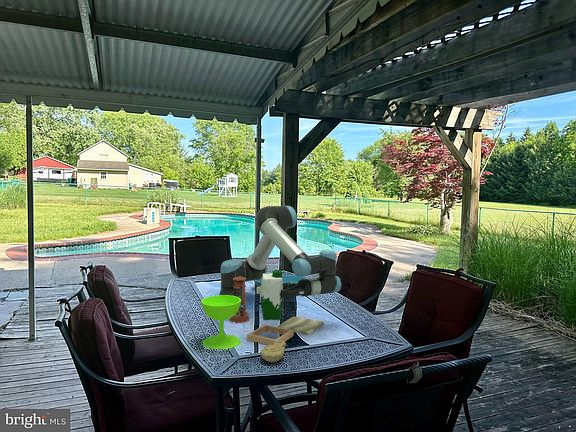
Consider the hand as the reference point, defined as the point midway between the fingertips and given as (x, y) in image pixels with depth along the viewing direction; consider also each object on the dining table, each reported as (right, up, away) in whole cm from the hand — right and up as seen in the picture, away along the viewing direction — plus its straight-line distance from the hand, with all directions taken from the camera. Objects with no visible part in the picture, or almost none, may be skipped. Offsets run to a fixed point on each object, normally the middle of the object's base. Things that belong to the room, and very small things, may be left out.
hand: (260, 292), depth 164 cm
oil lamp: (+6, -22, -15) cm, 27 cm away
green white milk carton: (+4, -11, +3) cm, 12 cm away
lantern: (-12, -19, +26) cm, 34 cm away
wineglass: (-16, -21, -3) cm, 26 cm away
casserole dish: (+8, -15, +86) cm, 88 cm away
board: (+18, -19, +18) cm, 32 cm away
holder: (+4, -20, +4) cm, 21 cm away
